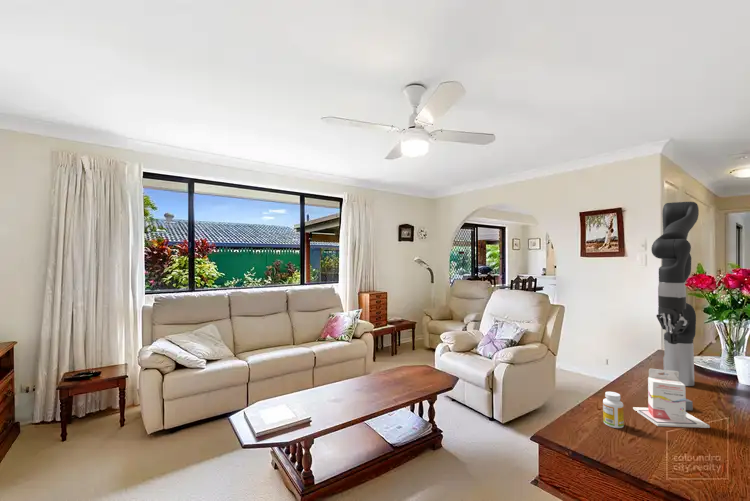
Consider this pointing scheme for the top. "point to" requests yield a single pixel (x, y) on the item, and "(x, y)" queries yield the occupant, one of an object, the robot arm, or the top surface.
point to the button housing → (689, 405)
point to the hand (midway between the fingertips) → (672, 343)
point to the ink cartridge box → (666, 395)
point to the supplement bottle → (613, 410)
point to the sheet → (690, 420)
